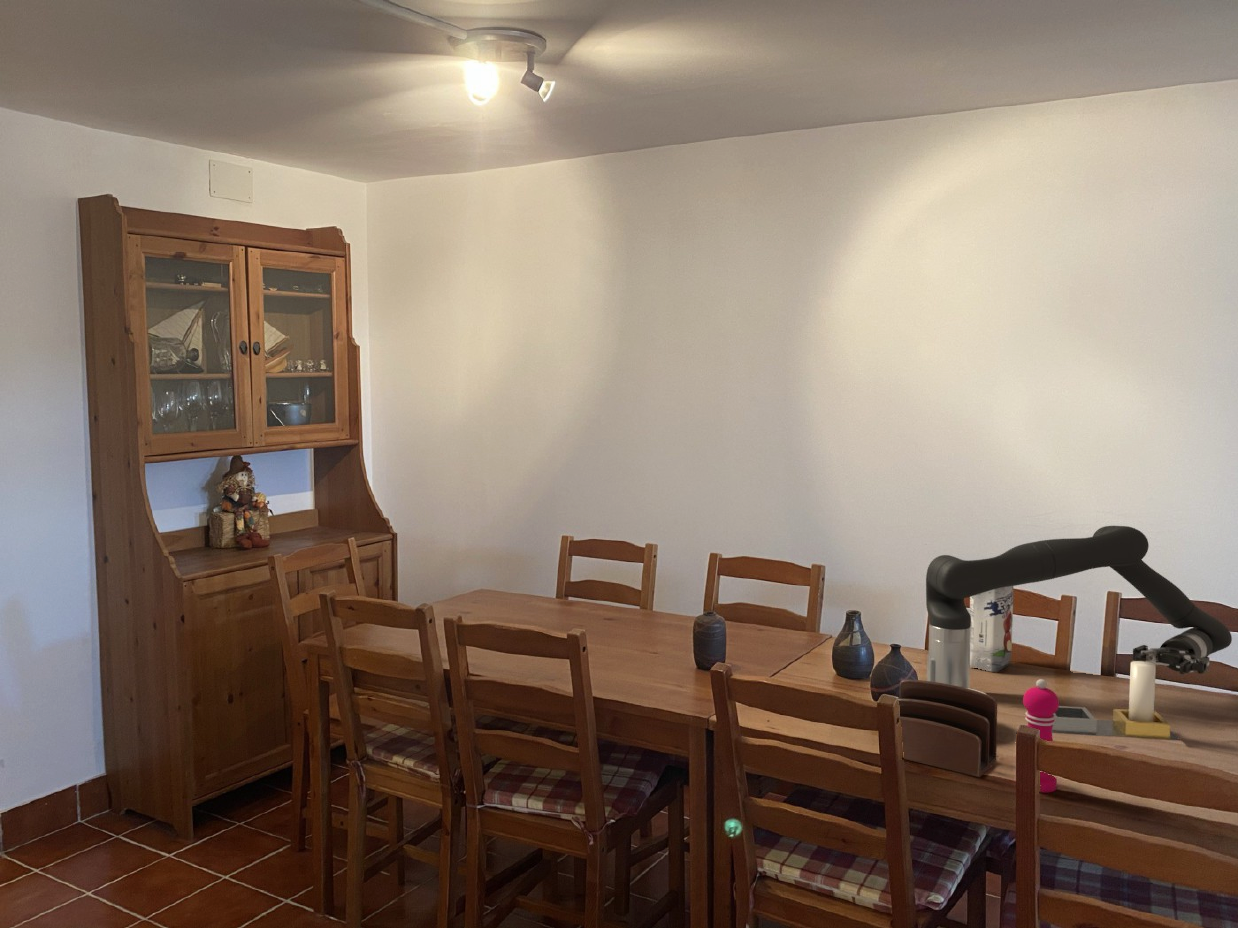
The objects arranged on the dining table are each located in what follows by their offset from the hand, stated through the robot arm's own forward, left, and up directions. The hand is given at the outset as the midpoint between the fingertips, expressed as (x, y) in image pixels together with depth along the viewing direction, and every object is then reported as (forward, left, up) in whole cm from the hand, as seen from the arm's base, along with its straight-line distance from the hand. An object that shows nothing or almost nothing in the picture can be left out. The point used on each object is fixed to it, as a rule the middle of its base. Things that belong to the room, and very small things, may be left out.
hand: (1159, 665), depth 212 cm
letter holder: (-49, -29, -13) cm, 59 cm away
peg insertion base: (-13, -9, -13) cm, 20 cm away
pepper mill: (-33, -40, -13) cm, 53 cm away
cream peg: (-6, -9, -12) cm, 16 cm away
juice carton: (-28, +37, -13) cm, 48 cm away
